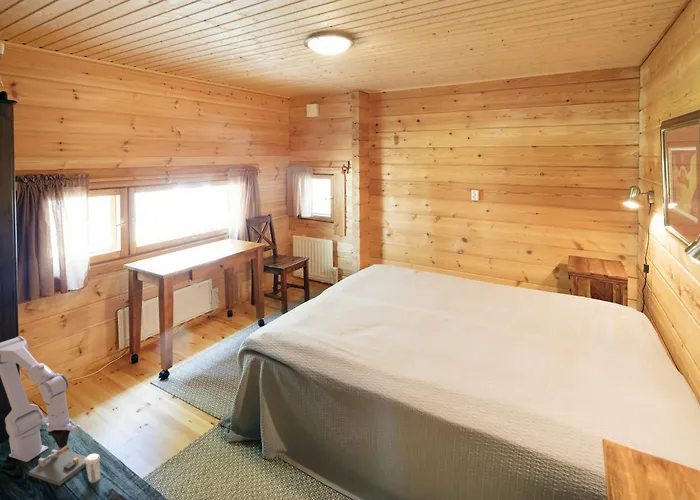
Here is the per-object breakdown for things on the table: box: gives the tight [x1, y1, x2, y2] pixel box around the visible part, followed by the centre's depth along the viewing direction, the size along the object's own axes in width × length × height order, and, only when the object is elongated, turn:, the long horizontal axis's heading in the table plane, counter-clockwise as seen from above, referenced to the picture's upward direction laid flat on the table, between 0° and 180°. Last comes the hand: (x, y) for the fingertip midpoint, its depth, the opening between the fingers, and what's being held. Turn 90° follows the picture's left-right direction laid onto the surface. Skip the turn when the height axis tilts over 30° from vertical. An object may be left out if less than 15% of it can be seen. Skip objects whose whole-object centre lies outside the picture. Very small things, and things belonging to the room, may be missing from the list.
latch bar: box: [43, 445, 70, 460], centre depth 145 cm, size 10×3×1 cm, turn 72°
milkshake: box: [84, 453, 101, 484], centre depth 139 cm, size 4×5×10 cm
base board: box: [28, 448, 87, 487], centre depth 145 cm, size 14×12×4 cm
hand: (62, 446), depth 142 cm, fingers closed
